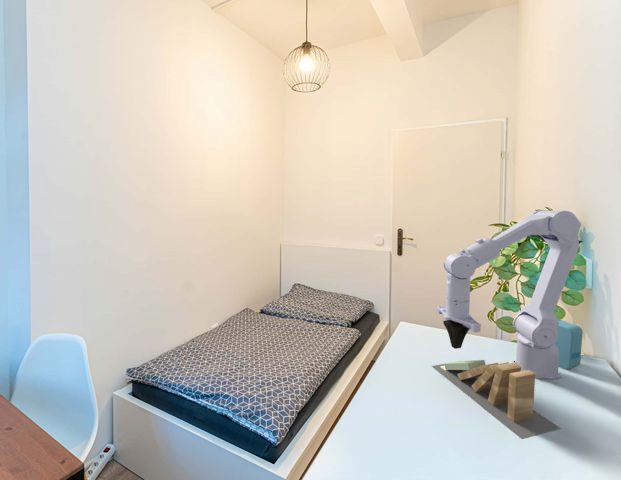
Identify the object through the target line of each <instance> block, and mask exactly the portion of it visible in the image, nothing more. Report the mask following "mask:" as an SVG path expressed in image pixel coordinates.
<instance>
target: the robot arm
mask: <svg viewBox="0 0 621 480" xmlns="http://www.w3.org/2000/svg"><path fill="white" fill-rule="evenodd" d="M581 227H582V223H581V221H580V220H579V219H578V217H577V216H576V215H575V213H573V212H572V211H568V210H547V209H538V210H535V211H534V212H532V213H530V214H528V215H526V216H524V218H522V219H521V220H520V221H518V222H516V223H515V224H514V225H512V226H511V227H509V228H507V229H505V230H504V231H502V232H501V233H499V234H498V235H496V236H495V237H493V238H492V239H491V238H488V237H483V238H480V237H479V238H477V239H475V243H473V244H471V245H469V246H468V247H466V248H461V249H460V250H459V253H456V252H455V253H451V254H450V255H448V256H447V257H446V259H445V260H444V262H443V268H444V270H445V271H446V287H445V288H446V291H445V292H446V294H445V297H446V298H445V306H444V305H442V306H437V309H436V310H437V314H438V315H442V318H443V319H444V320H443V325H444V327H445V328H446V331H447V334H448V337H449V340H450V342H449V343H450V345H451V348H453V349H461V348H462V346H463V343H464V340H465V337H466V336H467V334H468V332H469V331H470V330H471V332H472V333H478V332H481V326H482V324H481V323H479V322H478V321H476V319H474V318H473V317H472V316H471V315H470V304H471V302H470V301H471V300H470V299H471V295H470V294H471V277H472V276H473V275H474V274H475V272H476V270H477V269H479V268H480V267H482V266H484V265H486V264H487V263H490V262H491V261H494V260H495V259H497V258H498V257H499V256H500V252H501V250H503V249H505V248H507V247H509V246H511V245H513V244H515V243H517V242H519V241H521V240H523V239H525V238H527V237H529V236H539V237H541V238H542V239H543V240H544V241H545V243H546V244H547V246H548V247H549V250H548V253H547V256H546V259H545V262H544V264H543V267H542V269H541V271H540V275H539V277H538V280H537V283H536V286H535V287H534V288H535V289H534V291H533V294H532V296H531V299H530V302H529V303H528V304H526V305H524V306H522V307H521V309H520V311H519V313H518V314H517V315H516V316H515V317H514V318H513V320H512V327H513V329H514V330H515V332H516V333H517V334H516V335H517V338H516V340H517V341H516V342H517V343H516V360H515V362H516V363H517V364H518V365H520V366H521V367H522V368H521V371H525V370H530V371H532V372H533V373H535V379H546V378H548V379H550V380H555V379H560V378H562V375H561V374H559V368H560V367H559V350H558V348H557V346H556V345H555V344H554V343H555V342H556V341H557V338H558V333H557V328H558V325H559V322H558V320H557V319H558V318H557V316H556V313H555V311H556V308H557V306H558V302H559V301H560V298H561V295H562V292H563V290H564V287H565V286H566V285H565V284H566V282H567V280H568V276H569V274H570V272H571V269H572V266H573V264H574V262H575V259H576V256H577V254H578V251H579V247H580V243H579V242H580V239H579V231H580V229H581Z"/></svg>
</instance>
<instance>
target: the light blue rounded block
mask: <svg viewBox="0 0 621 480" xmlns="http://www.w3.org/2000/svg"><path fill="white" fill-rule="evenodd" d="M557 320H558V322H559V325H558V328H557V333H558V338H557V341H556V342H555V343H554V344H555V345H556V346H557V348H558V350H559V367H558V368H561V369H563V370H570V369H572V368H576V367H579V366H580V365H581V360H582V359H581V358H582V357H581V356H582V343H583V330H582V327H580V325H578V324H575V323H571V322H568V321H565V320H561V319H559V318H557Z"/></svg>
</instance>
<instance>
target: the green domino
mask: <svg viewBox="0 0 621 480" xmlns="http://www.w3.org/2000/svg"><path fill="white" fill-rule="evenodd" d="M485 361H486V360H484V359H478V360H477V359H476V360H458V361H451V362H447V363H446V362H445V363H443V364H444V365H445V369H446V370H470V369H473V368H476V367H478V366H482V365H487V364H486V362H485Z"/></svg>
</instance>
